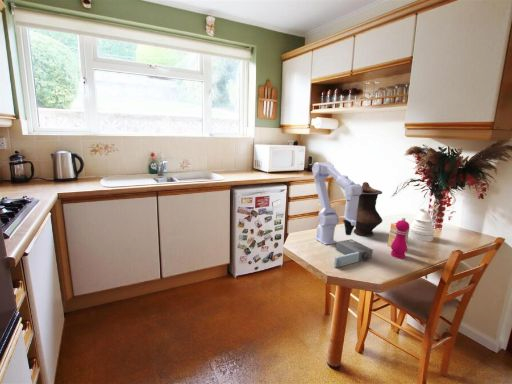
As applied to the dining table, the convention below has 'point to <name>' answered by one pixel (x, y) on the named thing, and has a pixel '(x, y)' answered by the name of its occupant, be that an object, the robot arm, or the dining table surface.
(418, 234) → the honey pot
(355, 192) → the robot arm
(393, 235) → the supplement box
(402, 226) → the pepper mill
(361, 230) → the jug
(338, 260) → the side door
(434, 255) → the dining table surface
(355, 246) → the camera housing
